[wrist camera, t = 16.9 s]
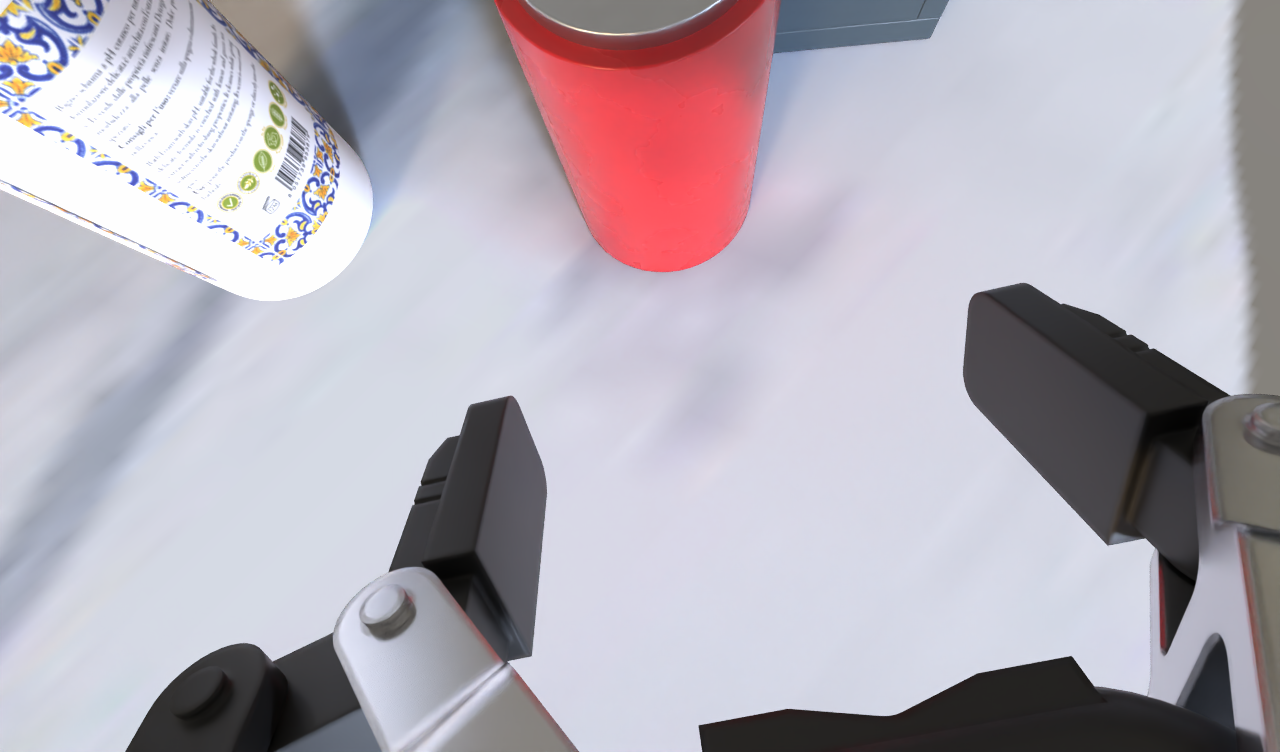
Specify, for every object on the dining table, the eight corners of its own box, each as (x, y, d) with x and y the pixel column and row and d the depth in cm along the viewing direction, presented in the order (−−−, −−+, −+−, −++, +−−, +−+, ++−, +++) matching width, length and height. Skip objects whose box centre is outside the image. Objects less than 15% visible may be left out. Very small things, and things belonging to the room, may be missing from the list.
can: (581, 277, 21) (470, 68, 11) (582, 124, 22) (481, -191, 12) (755, 267, 20) (807, 36, 10) (745, 111, 22) (782, -231, 12)
